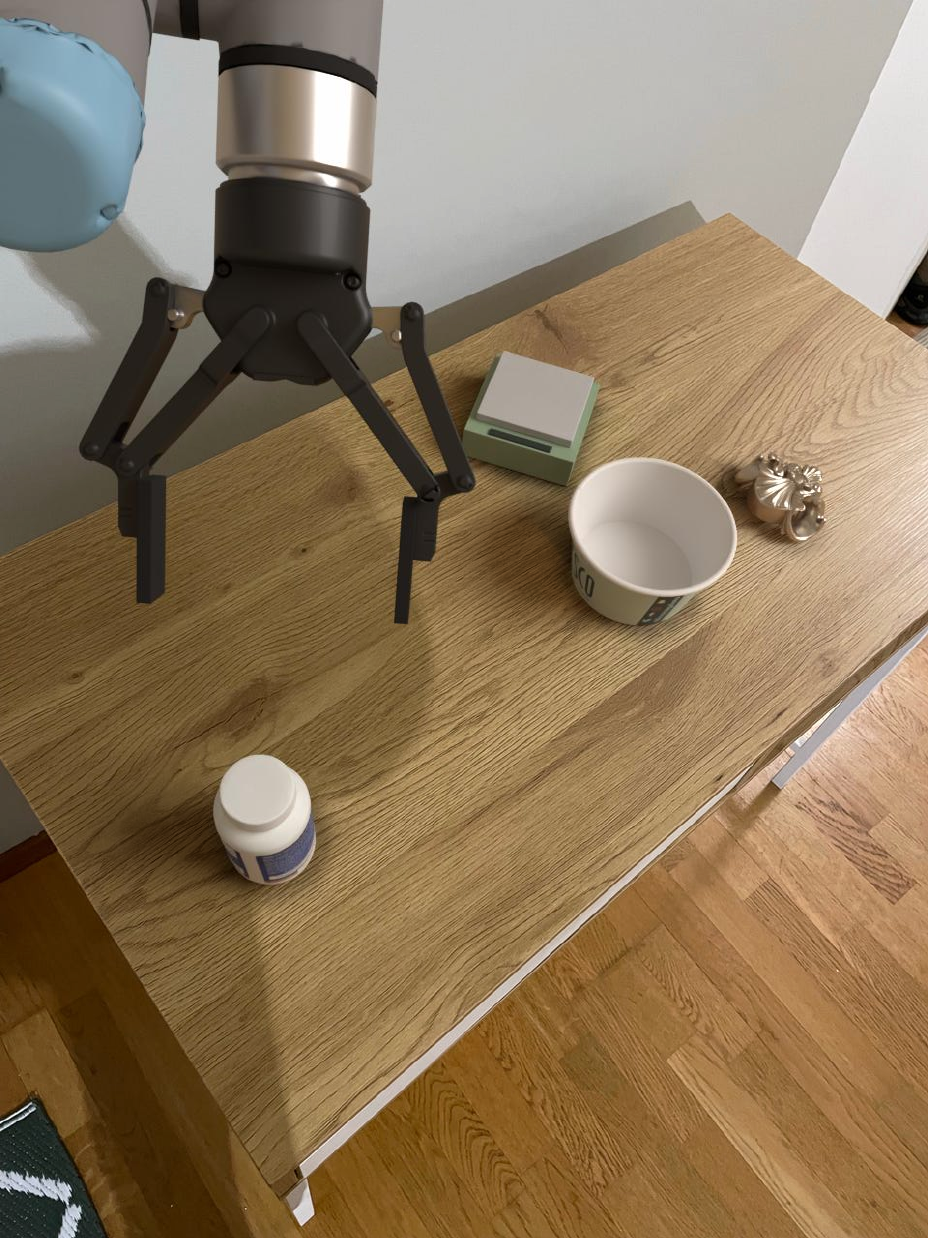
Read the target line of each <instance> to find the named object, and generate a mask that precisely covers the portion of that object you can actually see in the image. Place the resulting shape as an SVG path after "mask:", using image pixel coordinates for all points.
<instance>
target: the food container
mask: <svg viewBox="0 0 928 1238" xmlns="http://www.w3.org/2000/svg"><path fill="white" fill-rule="evenodd" d="M567 520H568V521H567V522H568V528H569V532H570V536H571V538H572V540H571V541H572V542H571V576H572V581H573V583H574V585H575V588H576V590H577V592H578V593H579V595H580V597H581V598H582V599H583V601H585V603H586V604H587V605H588V606H589V607H591V608H592V609H593V610H594V611H595V612H596V613H598V614H599V615H601V616H603V617H605V618H607V619H609V620H612V621H614V622H617V623H620V624H624V625H628V626H629V625H630V626H649V625H656V624H660V623H662V622H664V621H666V620H669V619H670V618H671V617H673V616H675V615H676V614H678V613H679V612H680V611H681V609H682V608H683V607H684V606H685V605H687V604H688V603H689V602H690V601H691V600H692V599H693V598H694V597H695V596H696V594H698V593H699V592H701V591H702V590H704V589H706V588H708V587H710V586H711V585H713V584H714V583H716V582H717V581H718V580H719V579H721V577H723V575H724V574H725V573H726V572H727V570H728V569H729V567H730V566H731V564H732V563H733V560H734V557H735V554H736V550H737V545H738V532H737V526H736V521H735V517H734V515H733V513H732V511H731V509H730V507H729V506H728V504H727V501H725V499H724V497H723V496H722V495H721V494H720V493H719V491H717V489H716V488H715V487H714V486H713V485H712V484H711V483H710V482H708V481H707V480H706V479H705V478H703V477H702V476H700V475H699V474H697V473H696V472H694V471H693V470H691V469H688V468H687V467H684V466H682V465H680V464H677V463H675V462H671V461H668V460H664V459H660V458H655V457H646V456H635V457H634V456H633V457H624V458H619V459H615V460H611V461H607V462H606V463H604V464H601V465H599V466H597V467H596V468H594V469H592V470H591V471H590V472H589V473H587V474H586V475H585V476H584V477H583V478H582V479H581V480H580V482H578V484H577V485H576V486H575V489H574V491H573V492H572V494H571V496H570V500H569V504H568V511H567Z"/></svg>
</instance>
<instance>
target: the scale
mask: <svg viewBox="0 0 928 1238" xmlns="http://www.w3.org/2000/svg"><path fill="white" fill-rule="evenodd" d="M594 380H595V376H591V375H588V374H585V373H581V372H579V371H575V370H571V369H568V368H564V367H560V366H557V365H554V364H551V363H548V362H545V361H541V360H538V359H537V360H536V359H533V358H530V357H527V356H524V355H520V354H517V353H513V352H509V351H506V350H502V353H501V354H500V353H495V355H494V357H493V359H492V362H491V364H490V366H489V369H488V371H487V374H486V376H485V378H484V381H483V382H482V385H481V387H480V390H479V393H478V394H477V397H476V399H475V402H474V404H473V406H472V409H471V411H470V413H469V416H468V418H467V420H466V422H465V425H464V427H463V431H462V438H461V442H462V445H463V447H464V450H465V452H466V455H467V458H471V459H474V460H478V461H482V462H485V463H488V464H491V465H495V466H497V467H498V466H499V467H500V468H504V469H508V470H511V471H514V472H517V473H521V474H524V475H528V476H531V477H534V478H537V479H540V480H544V481H547V482H551V483H553V484H557V485H559V486H565V487H568V485H569V482H570V479H571V476H572V473H573V471H574V467H575V464H576V462H577V459H578V455H579V452H580V449H581V446H582V443H583V441H584V438H585V434H586V431H587V429H588V425H589V423H590V419H591V416H592V413H593V410H594V407H595V404H596V400H597V397H598V394H599V390H600V387H601V383H599V382H595V381H594Z"/></svg>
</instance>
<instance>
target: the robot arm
mask: <svg viewBox="0 0 928 1238" xmlns="http://www.w3.org/2000/svg"><path fill="white" fill-rule="evenodd" d="M383 12H384V0H0V247H2V248H6V249H9V250H15V251H21V252H28V253H43V254H44V253H46V254H47V253H48V254H49V253H50V254H51V253H57V252H58V253H59V252H64V251H68V250H72V249H77V248H79V247H81V246H84V245H85V244H89V243H90V242H92V241H94V240H95V239H97V238H99V237H100V236H101V235H102V234H103V233H105V232H106V231H107V230H108V229H109V228H110V227H111V226H112V225H113V223H114V222H115V221H116V220H117V219H118V217H119V215H121V214H122V213H123V211H124V209H125V207H126V204H127V198H128V195H129V192H130V187H131V181H132V176H133V172H134V168H135V167H134V166H135V165H136V164H137V161H138V159H139V158H140V155H141V152H142V150H143V147H144V131H145V127H146V123H147V122H146V120H147V116H146V112H145V100H146V88H147V79H148V78H147V77H148V76H147V75H148V65H149V57H150V54H151V49H152V48H151V47H152V39H153V34H155V35H156V34H157V35H163V36H168V37H175V38H179V39H180V38H181V39H188V40H192V41H193V40H194V41H201V40H206V41H210V42H211V41H212V42H216V43H218V44H217V45H218V54H219V55H218V56H219V59H218V71H217V72H218V73H217V75H218V76H217V77H218V80H217V103H216V104H217V108H216V134H215V135H216V136H215V137H216V138H215V139H216V140H215V165H216V167H217V168H218V169H219V170H220V171H221V173H223V174H224V176H226V177H227V180H223V181H222V182H221V183H220V184H219V187H217V188H215V190H214V226H213V227H214V231H213V232H214V234H213V271H212V276H211V280H210V283H209V285H208V286H207V288H206V290H202V289H198V288H193V287H189V286H184V285H180V284H178V283H177V282H174V281H171V280H168V279H166V278H163V277H161V276H160V277H159V276H155V277H152V278H150V279H149V280H148V282H147V283H146V286H145V292H144V300H143V309H142V317H141V318H142V319H141V323H140V326H139V327H138V328H137V331H136V333H135V334H134V337H133V339H132V341H131V343H130V344H129V346H128V349H127V350H126V353H125V354H124V356H123V358H122V360H121V362H120V364H119V365H118V368H117V370H116V372H115V374H114V376H113V378H112V379H111V381H110V383H109V385H108V387H107V390H106V392H105V394H104V395H103V397H102V399H101V401H100V403H99V405H98V407H97V409H96V411H95V413H94V415H93V417H92V419H91V420H90V423H89V424H88V426H87V429H86V430H85V432H84V433H83V436H82V438H81V441H80V442H79V446H78V450H79V451H78V452H79V454H80V456H81V457H82V458H83V459H85V460H86V461H89V462H96V463H98V464H100V465H102V466H105V467H107V468H108V469H110V470H112V472H113V473H114V474H115V476H116V478H117V479H116V480H117V528H118V530H119V532H120V535H121V537H123V538H124V537H125V538H136V573H135V575H136V584H135V585H136V588H135V589H136V591H135V592H136V593H135V595H136V596H135V597H136V601H135V602H136V604H144V605H152V604H153V603H154V602H155V601H157V600H158V599H159V598H160V597H162V596H163V595H164V594H166V553H167V552H166V549H167V548H166V545H167V543H166V542H167V541H166V540H167V475H165V474H164V475H163V474H150V471H152V470H154V467H153V466H155V464H156V463H157V462H158V461H160V459H161V458H162V456H164V455H165V453H167V451H168V450H169V449H170V448H171V447H172V446H173V445H174V444H175V443H176V441H177V440H178V439H179V438H180V437H181V436H182V435H183V434H184V433H185V432H186V431H187V430H188V429H189V427H191V425H192V424H193V423H194V422H195V421H196V420H197V419H198V418H199V417H200V416H201V415H202V414H203V412H204V411H205V410H206V409H207V408H208V407H209V406H210V405H211V404H212V403H213V402H214V401H215V400H216V398H217V397H218V396H219V395H220V394H221V393H222V392H223V391H224V390H225V389H226V388H227V387H228V386H229V385H230V384H232V383H233V382H234V381H235V380H236V379H237V378H238V377H239V376H240V375H241V374H244V375H245V376H246V377H248V378H250V379H251V380H252V381H256V382H267V383H271V382H280V381H285V380H286V381H289V382H292V383H294V384H297V385H302V386H312V387H318V386H320V385H323V384H327V383H328V382H330V381H331V380H333V381H334V382H335V384H336V385H337V386H338V388H339V390H340V391H341V392H342V393H343V395H344V396H345V397H346V398H347V399H348V400H349V402H350V403H351V405H352V406H353V407H354V409H355V410H356V411H357V413H358V414H359V415H360V417H361V419H362V420H363V422H364V423H365V424H366V425H367V427H368V429H369V430H370V431H371V432H372V434H373V435H374V437H375V438H376V439H377V441H378V443H380V445H381V446H382V448H383V449H384V451H385V452H386V453H387V455H388V456H389V457H390V459H391V461H392V462H393V463H394V465H395V466H396V468H397V469H398V470H399V471H400V473H401V474H402V475H403V477H404V478H405V480H406V481H407V482H408V484H409V486H410V487H411V488H412V490H413V491H414V492H415V493H416V496H408V495H404V496H403V499H402V504H401V505H402V506H401V518H400V519H401V521H400V533H399V534H400V535H399V545H398V546H399V548H398V560H397V573H396V574H397V575H396V588H395V589H396V590H395V602H394V603H395V604H394V616H393V624H397V625H409V619H410V609H411V608H410V607H411V594H412V593H411V592H412V582H413V581H412V580H413V570H414V569H413V567H414V561H417V562H418V561H419V562H429V563H431V562H432V561H433V558H434V556H435V554H436V549H437V537H438V525H439V514H440V513H439V512H440V507H441V504H442V502H443V501H444V500H445V499H447V498H449V497H451V496H456V495H459V494H468V493H470V492H472V491H473V490H474V488H475V487H476V484H477V483H476V482H477V480H476V475H475V473H474V470H473V468H472V465H471V463H470V460H469V457H468V456H467V455H466V452H465V450H464V447H463V445H462V438H461V437H460V435H459V432H458V429H457V427H456V423H455V421H454V419H453V416H452V414H451V410H450V409H449V406H448V403H447V400H446V398H445V396H444V395H445V394H444V393H443V391H442V388H441V385H440V383H439V381H438V377H437V375H436V372H435V370H434V367H433V365H432V362H431V359H430V357H429V354H428V352H427V337H426V316H425V311H424V308H423V306H422V305H421V304H420V303H418V302H416V301H409V302H406V303H404V305H395V306H393V305H391V306H390V305H389V306H371V304H370V300H369V298H368V294H367V275H368V259H369V258H368V257H369V242H370V224H371V208H370V207H369V206H368V204H367V201H366V200H365V199H364V198H362V195H361V194H362V193H365V192H366V191H367V190H368V189H369V188H370V187H371V186H372V185H373V176H374V175H373V174H374V161H375V160H374V158H375V157H374V156H375V143H376V141H375V140H376V125H377V109H378V108H377V107H378V100H377V99H378V98H377V95H378V81H379V67H380V54H381V40H382V26H383V15H384V14H383ZM200 313H203V314H204V316H205V318H206V320H207V321H208V323H209V325H210V326H211V328H212V329H213V331H214V332H215V335H216V336H217V337H218V339H219V340H220V341H219V342H218V344H217V345H216V346H215V347H214V348H213V349H212V350H211V351H210V353H209V354H208V355H206V356H205V358H204V359H203V361H201V363H200V364H199V367H198V368H197V369H196V371H195V372H194V373H193V374H192V375H191V376H190V377H189V378H188V379H187V380H186V381H185V383H184V384H182V386H181V387H180V388H179V389H178V390H177V391H176V392H175V393H174V395H173V396H172V397H170V399H169V400H168V401H167V402H166V403H165V404H164V405H163V406H162V407H161V408H160V410H159V411H158V412H157V413H156V414H155V416H153V417H152V418H151V420H150V421H149V422H148V423H147V424H146V425H145V426H144V427H143V428H142V429H141V431H140V432H139V433H138V434H137V435H136V436H135V437H134V438H133V439H132V440H131V441H130V442H129V444H127V443H124V441H125V440H124V439H125V438H126V436H127V434H128V432H129V430H130V428H131V426H132V424H133V423H134V421H135V419H136V417H137V415H138V413H139V411H140V409H141V407H142V405H143V403H144V401H145V400H146V398H147V396H148V394H149V392H150V390H151V389H152V386H153V385H154V382H155V381H156V379H157V377H158V375H159V373H160V372H161V370H162V367H163V365H164V363H165V362H166V359H168V356H169V354H170V352H171V350H172V348H173V346H174V344H175V341H176V339H177V337H178V334H179V330H185V329H187V328H189V327H190V326H191V325H192V323H193V320H194V318H195V317H196V316H197V315H199V314H200ZM373 329H377V330H379V331H381V332H382V333H383V335H384V337H385V340H386V342H387V345H389V346H390V347H391V348H392V349H394V350H402V356H403V360H404V364H405V366H406V369H407V372H408V374H409V377H410V379H411V381H412V385H413V386H414V389H415V392H416V394H417V396H418V399H419V401H420V402H419V403H420V404H421V407H422V409H423V412H424V414H425V417H426V420H427V422H428V424H429V427H430V430H431V433H432V435H433V437H434V440H435V442H436V446H437V447H438V450H439V452H440V455H441V458H442V460H443V462H444V465H445V468H446V470H444V471H441V472H437V473H434V471H433V470H432V469H431V467H430V466H429V464H428V463H427V462H426V460H425V459H424V458H423V456H422V455H421V453H420V452H419V450H418V449H417V448H416V446H415V445H414V443H413V442H412V441H411V439H410V438H409V436H408V435H407V433H406V432H405V430H404V429H403V428H402V426H401V425H400V424H399V422H398V420H397V419H396V418H395V416H394V415H393V413H391V410H390V409H389V408H388V407H387V405H386V404H385V402H384V401H383V400H382V398H381V396H380V395H379V394H378V393H377V391H376V390H375V388H374V387H373V385H372V384H371V382H370V380H369V379H368V377H367V376H366V375H365V373H364V372H363V371H362V369H361V367H360V366H359V365H358V364H357V362H356V360H355V359H354V358H353V355H354V353H355V352H356V351H357V350H358V348H360V346H361V345H362V344H363V342H364V341H365V340H366V339H367V337H369V335H370V334H371V332H372V330H373Z"/></svg>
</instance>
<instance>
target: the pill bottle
mask: <svg viewBox="0 0 928 1238" xmlns="http://www.w3.org/2000/svg"><path fill="white" fill-rule="evenodd" d="M212 813H213V822H214V825H215V829H216V831H217V834H218V835H219V838H220V841H221V842H222V845H223V846H224V848H225V851H226V853H227V855H228V857H229V860H230V861H231V863H232V864H233V866H234V868H235V869H236V870H237V872H238V873H239V874H240V875H241V876H243V878H245V879H247V880H248V881H251V882H253V883H256V884H259V885H269V886H270V885H272V886H273V885H280V884H283V883H286V882H289V881H291V880H293V879H294V878H296V877H297V876H298V875H300V874H301V873H302V872H303V871H304V870H305V868H306V867H307V866H308V865H309V863H310V862H311V860H312V857H313V855H314V853H315V850H316V844H317V833H316V827H315V820H314V814H313V807H312V800H311V795H310V792H309V789H308V786H307V784H306V782H305V781H304V780H303V778H302V777H301V776H300V774H299V773H297V772H296V771H295V770H294V769H292V768H291V767H289V766H288V765H286V764H285V763H284V762H283V761H282V760H280V759H278V758H277V757H275V756H272V755H268V754H252V755H248V756H245V757H243V758H240V759H238V760H237V761H235V762H234V763H233V764H231V765H230V767H228V769H227V770H226V771H225V773H224V775H223V776H222V778H221V781H220V783H219V788H218V790H217V792H216V795H215V798H214V801H213V807H212Z"/></svg>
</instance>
